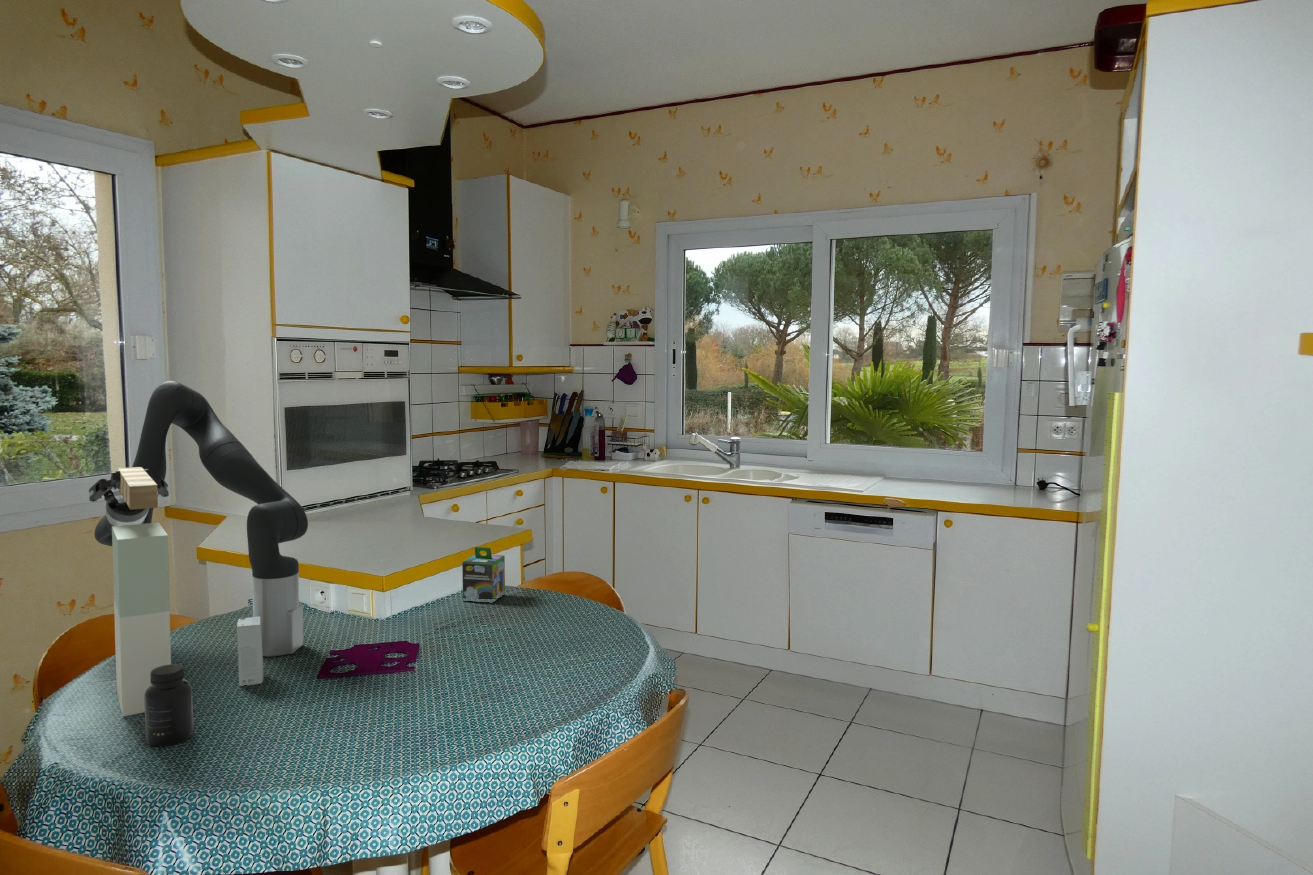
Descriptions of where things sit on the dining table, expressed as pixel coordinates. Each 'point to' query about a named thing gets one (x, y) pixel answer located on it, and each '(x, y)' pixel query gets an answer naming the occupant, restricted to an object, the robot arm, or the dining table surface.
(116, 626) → the tower
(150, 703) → the supplement bottle
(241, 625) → the skincare box
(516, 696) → the dining table surface
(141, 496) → the beam
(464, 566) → the chalk box
